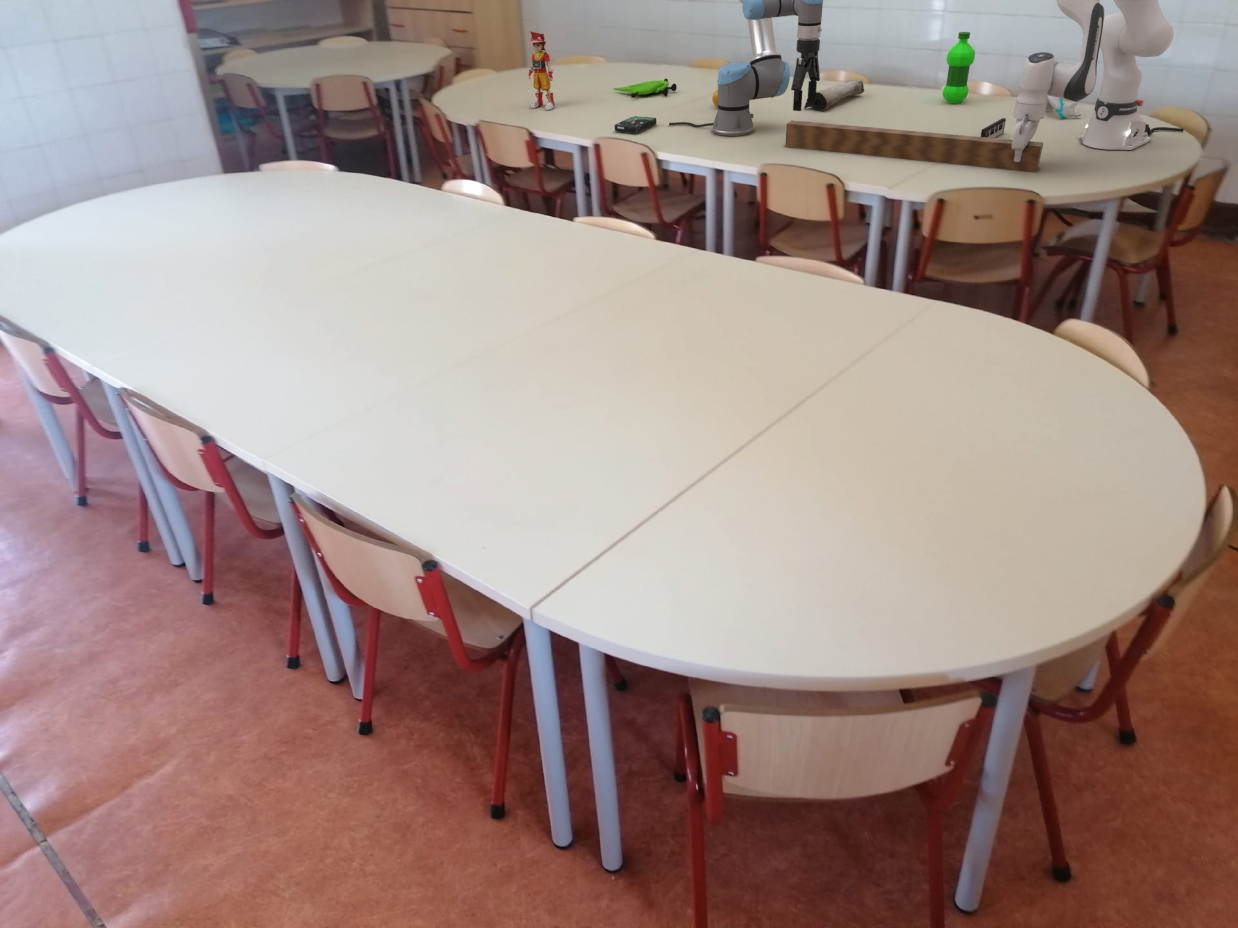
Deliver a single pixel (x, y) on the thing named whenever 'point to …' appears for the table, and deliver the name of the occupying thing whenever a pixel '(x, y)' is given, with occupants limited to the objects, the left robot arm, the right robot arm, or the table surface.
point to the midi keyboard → (994, 129)
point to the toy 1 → (541, 71)
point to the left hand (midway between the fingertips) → (804, 106)
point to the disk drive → (635, 124)
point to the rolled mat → (835, 94)
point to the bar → (912, 145)
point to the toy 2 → (648, 88)
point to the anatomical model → (1061, 107)
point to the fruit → (715, 98)
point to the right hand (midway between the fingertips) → (1020, 157)
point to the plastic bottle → (958, 69)
